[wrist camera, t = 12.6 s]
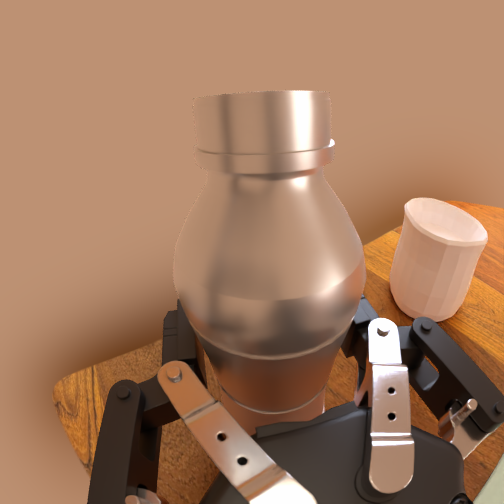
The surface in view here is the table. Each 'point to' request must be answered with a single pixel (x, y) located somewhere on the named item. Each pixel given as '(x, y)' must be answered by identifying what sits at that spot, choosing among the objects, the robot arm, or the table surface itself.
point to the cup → (435, 258)
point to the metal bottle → (268, 254)
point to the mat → (493, 487)
